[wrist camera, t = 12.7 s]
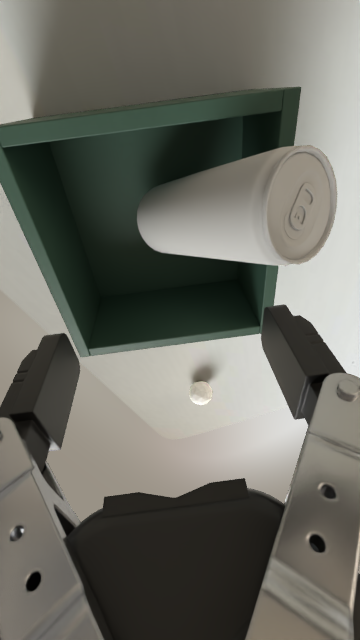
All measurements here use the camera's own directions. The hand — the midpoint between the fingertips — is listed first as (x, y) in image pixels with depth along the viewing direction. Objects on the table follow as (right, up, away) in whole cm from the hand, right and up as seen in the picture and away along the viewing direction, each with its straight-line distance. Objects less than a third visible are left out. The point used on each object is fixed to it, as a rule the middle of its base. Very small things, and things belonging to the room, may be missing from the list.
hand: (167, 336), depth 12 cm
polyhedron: (+3, -7, +26) cm, 27 cm away
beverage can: (-1, +8, +10) cm, 13 cm away
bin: (-1, +9, +12) cm, 15 cm away
